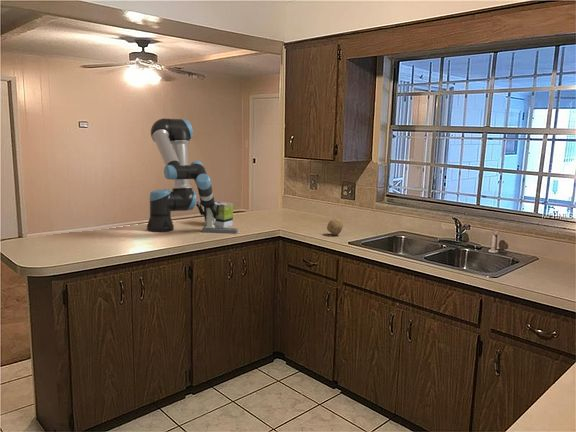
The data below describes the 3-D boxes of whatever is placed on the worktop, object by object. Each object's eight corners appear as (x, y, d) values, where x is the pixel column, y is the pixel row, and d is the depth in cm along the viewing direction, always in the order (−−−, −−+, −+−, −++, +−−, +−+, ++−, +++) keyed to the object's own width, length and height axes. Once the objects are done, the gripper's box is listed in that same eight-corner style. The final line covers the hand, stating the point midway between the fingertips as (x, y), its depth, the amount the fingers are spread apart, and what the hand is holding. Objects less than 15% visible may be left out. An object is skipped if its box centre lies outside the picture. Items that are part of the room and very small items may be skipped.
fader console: (202, 232, 271) (202, 228, 271) (204, 230, 277) (204, 226, 277) (236, 233, 271) (236, 230, 271) (237, 231, 277) (237, 228, 276)
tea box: (204, 225, 293) (204, 201, 290) (213, 223, 302) (214, 200, 299) (223, 228, 286) (224, 204, 283) (233, 225, 295) (233, 202, 292)
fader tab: (205, 228, 272) (205, 205, 270) (206, 226, 276) (206, 205, 273) (213, 228, 272) (214, 206, 270) (215, 227, 276) (215, 205, 273)
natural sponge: (329, 237, 271) (330, 220, 269) (324, 234, 279) (325, 217, 278) (344, 236, 273) (345, 220, 272) (338, 233, 282) (339, 217, 280)
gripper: (190, 201, 256) (196, 225, 275) (220, 202, 256) (224, 226, 275) (192, 190, 260) (198, 215, 279) (221, 191, 260) (225, 216, 279)
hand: (211, 220), depth 277 cm, fingers closed on fader tab, 3 cm apart
